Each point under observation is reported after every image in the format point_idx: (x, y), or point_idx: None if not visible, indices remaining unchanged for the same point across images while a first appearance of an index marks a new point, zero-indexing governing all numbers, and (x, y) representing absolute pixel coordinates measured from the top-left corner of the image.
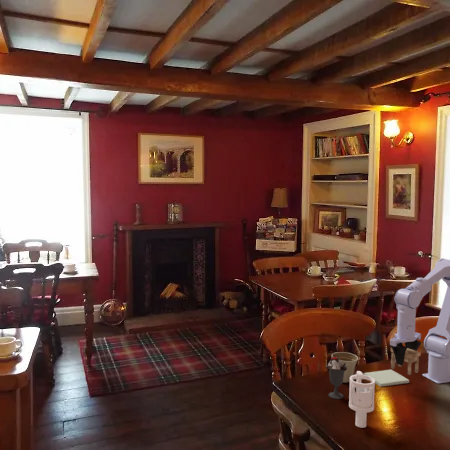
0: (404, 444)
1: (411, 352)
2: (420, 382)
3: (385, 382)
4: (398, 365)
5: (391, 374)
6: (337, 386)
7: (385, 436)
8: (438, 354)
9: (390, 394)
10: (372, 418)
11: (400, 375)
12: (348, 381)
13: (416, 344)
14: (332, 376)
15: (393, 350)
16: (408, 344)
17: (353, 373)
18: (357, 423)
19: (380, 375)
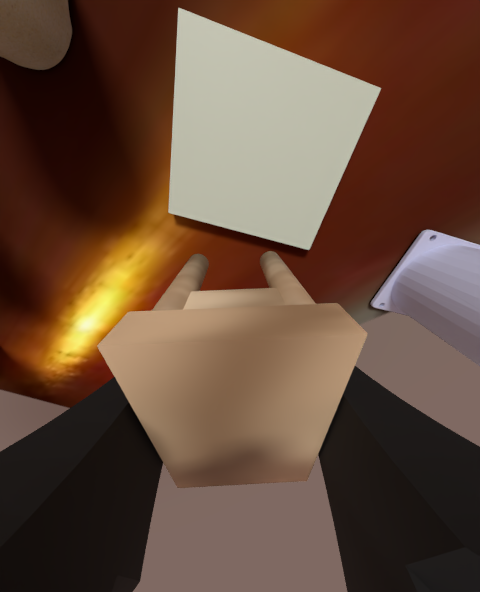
0: (56, 403)
1: (234, 470)
2: (341, 267)
3: (199, 213)
4: (261, 259)
5: (307, 154)
6: None
7: (31, 382)
8: None
9: (163, 276)
10: (29, 337)
11: (329, 193)
12: (19, 64)
13: (348, 578)
14: None
15: (64, 422)
16: (366, 487)
17: (10, 34)
18: None
19: (245, 127)
